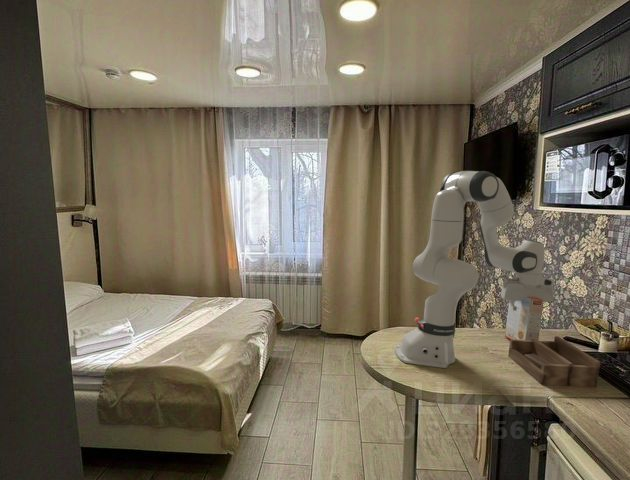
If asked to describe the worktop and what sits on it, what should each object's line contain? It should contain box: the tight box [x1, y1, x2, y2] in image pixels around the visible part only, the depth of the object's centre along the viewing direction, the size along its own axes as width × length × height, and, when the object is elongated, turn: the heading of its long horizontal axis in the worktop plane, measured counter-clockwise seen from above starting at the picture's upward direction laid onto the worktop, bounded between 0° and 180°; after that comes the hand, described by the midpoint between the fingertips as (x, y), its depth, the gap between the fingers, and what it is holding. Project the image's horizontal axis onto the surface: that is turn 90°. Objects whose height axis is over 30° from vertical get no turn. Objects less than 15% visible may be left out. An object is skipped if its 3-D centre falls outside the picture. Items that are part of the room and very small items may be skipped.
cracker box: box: [504, 297, 545, 341], centre depth 146 cm, size 14×6×21 cm, turn 1°
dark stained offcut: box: [524, 354, 552, 369], centre depth 122 cm, size 4×8×2 cm, turn 15°
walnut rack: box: [507, 335, 601, 388], centre depth 122 cm, size 18×20×10 cm
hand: (524, 310), depth 145 cm, fingers open, 8 cm apart
